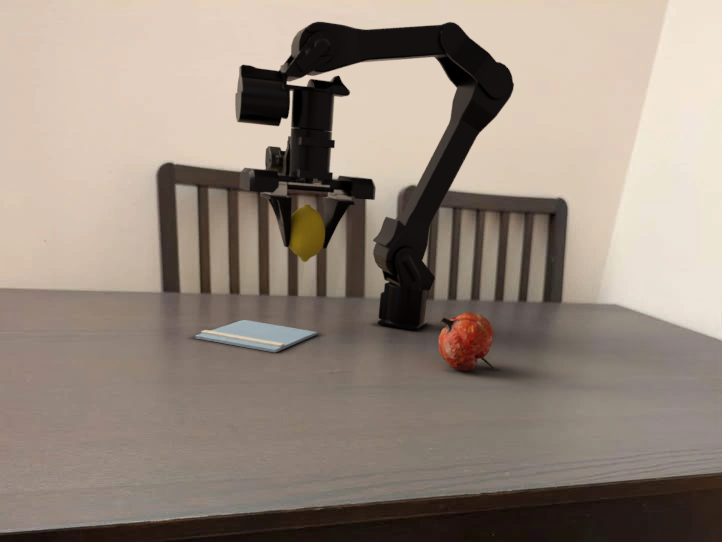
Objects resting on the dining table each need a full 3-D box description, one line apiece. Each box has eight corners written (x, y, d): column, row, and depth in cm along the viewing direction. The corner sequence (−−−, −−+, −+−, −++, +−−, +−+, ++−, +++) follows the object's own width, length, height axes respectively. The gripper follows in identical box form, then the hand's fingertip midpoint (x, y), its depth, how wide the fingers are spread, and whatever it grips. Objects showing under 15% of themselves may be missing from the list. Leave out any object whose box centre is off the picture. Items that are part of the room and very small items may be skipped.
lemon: (282, 258, 109) (284, 201, 106) (318, 260, 111) (321, 204, 108) (290, 263, 104) (293, 204, 101) (327, 265, 106) (331, 207, 103)
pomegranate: (471, 376, 99) (419, 328, 96) (511, 338, 96) (459, 287, 93) (477, 398, 93) (421, 347, 89) (520, 358, 90) (464, 304, 87)
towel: (316, 334, 105) (317, 329, 105) (275, 352, 94) (275, 347, 93) (243, 322, 108) (243, 317, 108) (195, 338, 97) (194, 333, 97)
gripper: (350, 136, 111) (342, 242, 117) (230, 123, 103) (228, 238, 110) (381, 137, 102) (371, 252, 108) (252, 122, 94) (249, 248, 100)
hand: (305, 247), depth 107 cm, fingers closed on lemon, 5 cm apart
